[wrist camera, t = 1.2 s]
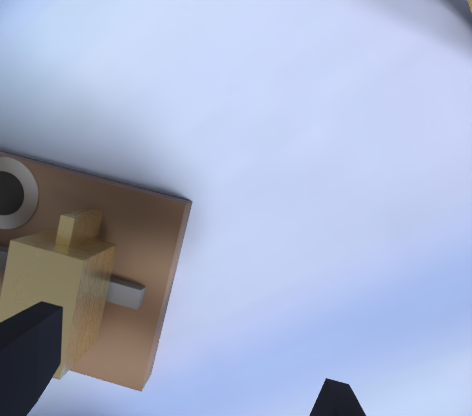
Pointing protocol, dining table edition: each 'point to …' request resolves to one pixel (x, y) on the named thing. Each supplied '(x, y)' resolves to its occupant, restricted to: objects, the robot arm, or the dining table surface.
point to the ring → (470, 4)
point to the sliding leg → (62, 279)
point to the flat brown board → (126, 258)
